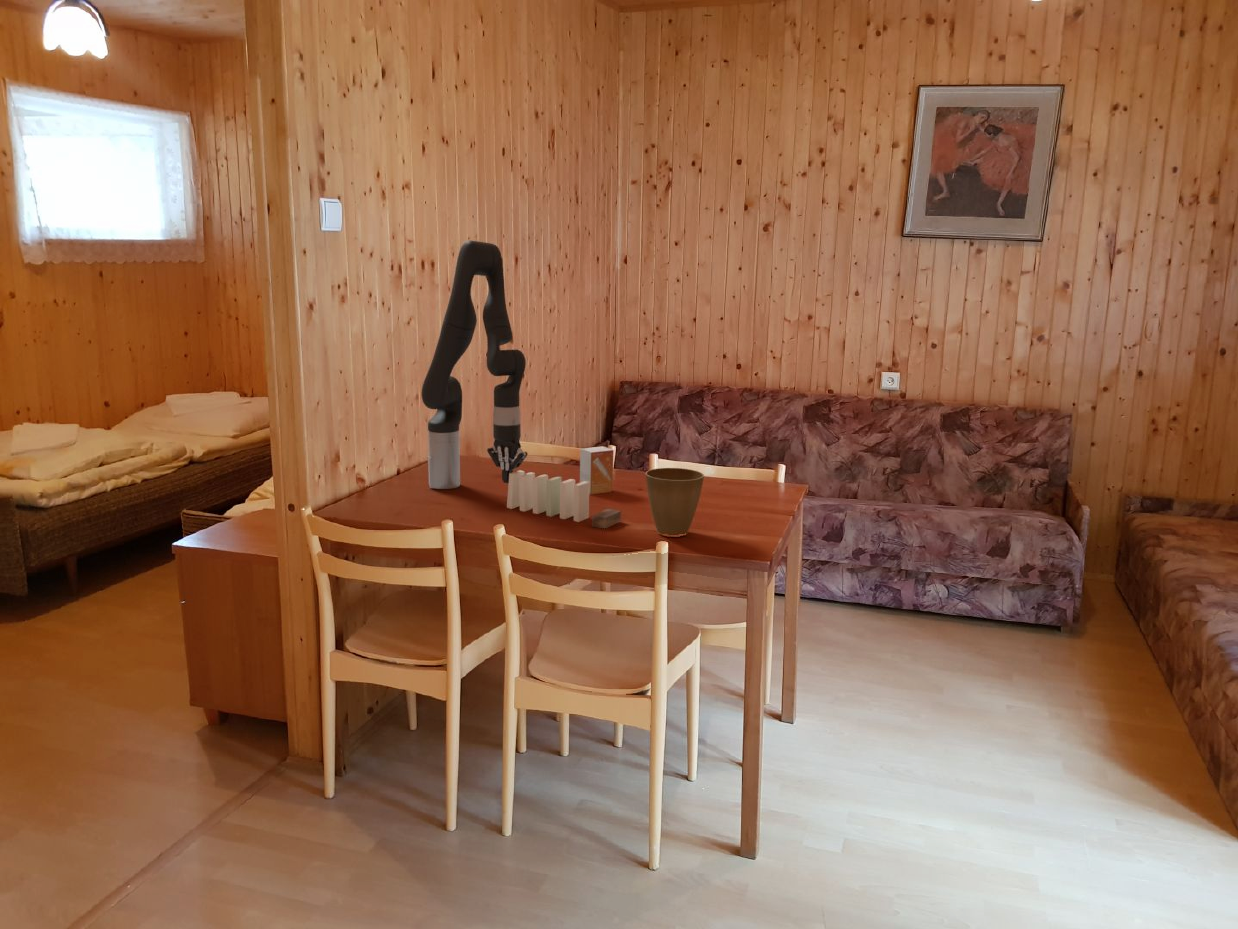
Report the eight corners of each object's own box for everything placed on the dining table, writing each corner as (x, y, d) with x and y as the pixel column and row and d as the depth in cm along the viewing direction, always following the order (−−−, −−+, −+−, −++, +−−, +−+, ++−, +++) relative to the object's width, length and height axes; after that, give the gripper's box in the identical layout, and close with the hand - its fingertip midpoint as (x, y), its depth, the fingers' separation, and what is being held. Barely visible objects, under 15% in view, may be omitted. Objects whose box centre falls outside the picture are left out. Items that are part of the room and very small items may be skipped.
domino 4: (546, 515, 265) (546, 480, 262) (556, 511, 269) (556, 476, 266) (551, 516, 264) (551, 480, 261) (561, 512, 268) (561, 477, 266)
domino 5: (559, 518, 262) (560, 482, 260) (570, 514, 266) (570, 478, 264) (564, 519, 261) (564, 483, 259) (574, 515, 266) (575, 479, 263)
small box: (590, 495, 287) (590, 452, 284) (579, 490, 292) (579, 448, 289) (613, 492, 291) (614, 449, 288) (601, 487, 296) (602, 445, 293)
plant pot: (706, 542, 244) (708, 480, 240) (647, 542, 243) (648, 480, 239) (696, 525, 258) (698, 466, 255) (641, 525, 257) (642, 466, 253)
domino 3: (532, 513, 267) (532, 477, 264) (543, 509, 271) (543, 474, 269) (537, 514, 266) (537, 478, 264) (548, 510, 270) (548, 475, 268)
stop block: (591, 526, 255) (592, 515, 255) (607, 519, 262) (608, 508, 261) (604, 528, 253) (605, 517, 253) (620, 521, 260) (620, 511, 259)
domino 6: (573, 521, 260) (573, 484, 258) (583, 516, 264) (584, 481, 262) (578, 521, 259) (579, 485, 257) (588, 517, 263) (589, 482, 261)
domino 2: (519, 510, 269) (519, 475, 267) (530, 506, 273) (530, 472, 271) (524, 511, 268) (524, 476, 266) (534, 507, 272) (534, 472, 270)
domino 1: (506, 507, 271) (509, 473, 268) (517, 503, 275) (520, 470, 273) (511, 509, 270) (513, 474, 268) (522, 505, 275) (524, 471, 272)
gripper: (534, 422, 269) (534, 483, 272) (496, 417, 275) (497, 476, 279) (517, 426, 262) (518, 488, 266) (479, 421, 269) (480, 482, 273)
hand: (507, 482), depth 273 cm, fingers closed
